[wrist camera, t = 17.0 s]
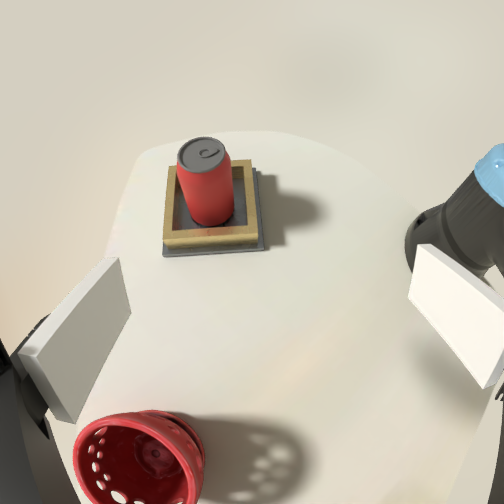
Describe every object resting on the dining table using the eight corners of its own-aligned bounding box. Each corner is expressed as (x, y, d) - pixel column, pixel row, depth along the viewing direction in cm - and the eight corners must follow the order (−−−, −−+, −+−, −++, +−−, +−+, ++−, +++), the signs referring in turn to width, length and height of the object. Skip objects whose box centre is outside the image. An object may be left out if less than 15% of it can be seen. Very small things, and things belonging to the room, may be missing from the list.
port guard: (255, 170, 47) (255, 155, 44) (263, 250, 42) (265, 238, 38) (169, 177, 47) (164, 162, 43) (163, 257, 41) (156, 245, 38)
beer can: (240, 221, 43) (237, 166, 32) (195, 233, 42) (177, 182, 31) (227, 185, 45) (222, 128, 34) (186, 196, 44) (169, 141, 33)
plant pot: (99, 430, 31) (49, 442, 20) (174, 388, 34) (142, 392, 23) (153, 507, 27) (121, 544, 16) (234, 469, 30) (227, 506, 19)
